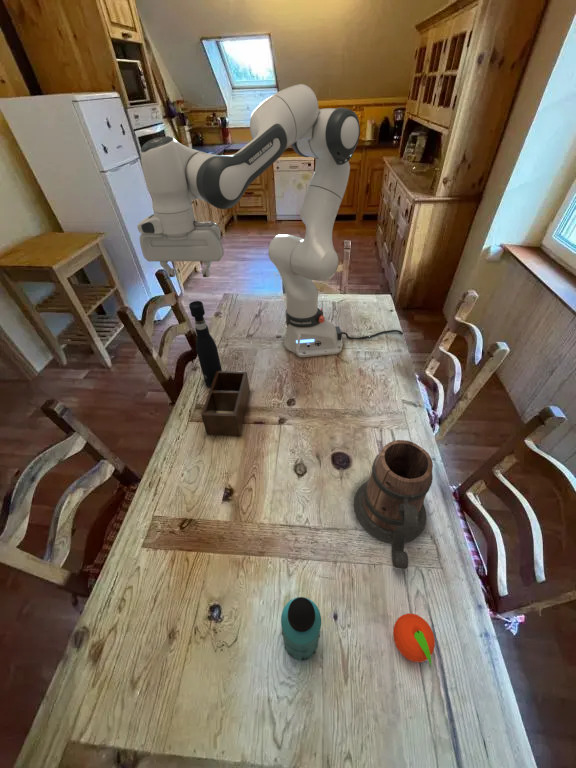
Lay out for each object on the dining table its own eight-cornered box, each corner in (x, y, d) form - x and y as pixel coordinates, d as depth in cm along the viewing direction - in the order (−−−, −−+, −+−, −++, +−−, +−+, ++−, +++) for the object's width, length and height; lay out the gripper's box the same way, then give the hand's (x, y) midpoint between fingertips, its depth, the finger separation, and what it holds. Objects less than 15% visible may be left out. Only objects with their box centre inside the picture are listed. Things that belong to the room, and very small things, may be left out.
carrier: (250, 391, 113) (247, 371, 107) (239, 436, 99) (235, 416, 93) (221, 390, 113) (216, 370, 108) (207, 435, 100) (200, 414, 94)
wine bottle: (226, 376, 119) (209, 298, 98) (221, 389, 114) (203, 310, 94) (208, 375, 119) (188, 298, 99) (203, 388, 115) (181, 309, 94)
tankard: (352, 474, 88) (361, 424, 75) (419, 480, 87) (441, 429, 73) (355, 572, 71) (367, 529, 58) (439, 581, 70) (471, 539, 56)
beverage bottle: (282, 622, 65) (276, 588, 52) (316, 619, 65) (319, 584, 52) (284, 666, 60) (279, 641, 47) (321, 662, 61) (327, 636, 47)
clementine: (441, 662, 60) (453, 655, 55) (407, 680, 59) (416, 673, 54) (414, 612, 66) (423, 601, 61) (382, 627, 64) (389, 617, 59)
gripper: (221, 216, 83) (230, 271, 92) (140, 217, 85) (157, 271, 94) (215, 225, 78) (225, 281, 88) (130, 226, 80) (148, 281, 89)
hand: (189, 276), depth 91 cm, fingers open, 8 cm apart
